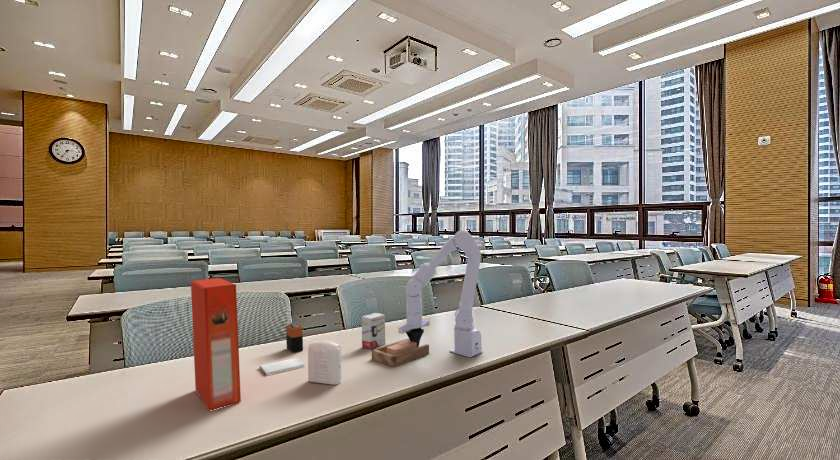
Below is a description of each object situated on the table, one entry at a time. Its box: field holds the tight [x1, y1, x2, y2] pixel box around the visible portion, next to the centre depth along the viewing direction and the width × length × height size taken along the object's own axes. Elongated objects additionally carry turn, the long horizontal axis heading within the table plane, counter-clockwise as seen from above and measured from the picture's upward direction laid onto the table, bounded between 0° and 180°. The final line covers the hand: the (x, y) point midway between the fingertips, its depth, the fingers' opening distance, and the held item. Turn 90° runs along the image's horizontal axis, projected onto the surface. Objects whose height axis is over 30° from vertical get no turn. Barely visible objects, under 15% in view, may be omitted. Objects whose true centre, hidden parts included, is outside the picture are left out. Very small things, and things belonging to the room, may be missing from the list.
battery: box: [285, 321, 304, 353], centre depth 150 cm, size 4×7×10 cm, turn 35°
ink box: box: [361, 312, 386, 350], centre depth 154 cm, size 9×5×12 cm, turn 143°
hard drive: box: [259, 357, 306, 376], centre depth 132 cm, size 2×8×12 cm
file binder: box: [190, 277, 242, 412], centre depth 110 cm, size 8×17×32 cm, turn 39°
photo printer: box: [307, 340, 342, 386], centre depth 120 cm, size 10×4×12 cm, turn 72°
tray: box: [371, 338, 430, 368], centre depth 141 cm, size 11×17×3 cm, turn 136°
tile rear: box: [397, 340, 417, 351], centre depth 143 cm, size 5×5×4 cm
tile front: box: [387, 344, 407, 355], centre depth 139 cm, size 5×5×4 cm
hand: (414, 348), depth 146 cm, fingers closed
